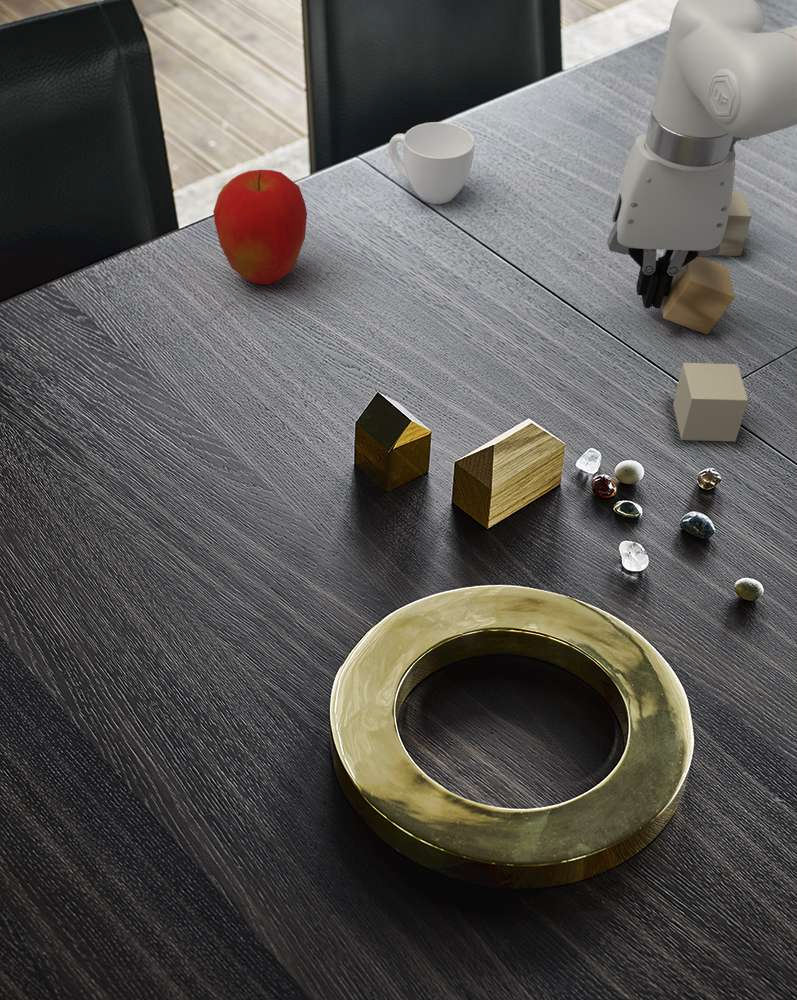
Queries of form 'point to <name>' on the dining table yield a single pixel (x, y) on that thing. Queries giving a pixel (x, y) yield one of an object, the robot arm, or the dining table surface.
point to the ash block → (736, 226)
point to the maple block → (699, 295)
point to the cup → (434, 159)
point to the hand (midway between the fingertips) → (650, 299)
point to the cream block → (710, 402)
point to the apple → (261, 224)
